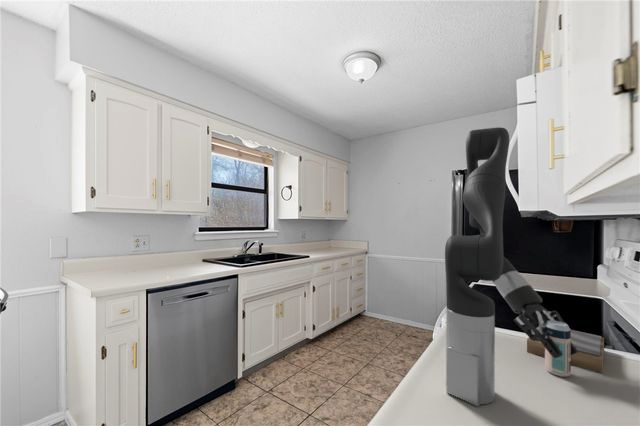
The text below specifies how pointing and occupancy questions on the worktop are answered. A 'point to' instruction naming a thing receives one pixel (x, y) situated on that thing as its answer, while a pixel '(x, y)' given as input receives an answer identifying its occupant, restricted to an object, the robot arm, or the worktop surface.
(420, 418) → the worktop surface
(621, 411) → the worktop surface
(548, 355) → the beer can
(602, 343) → the dock
